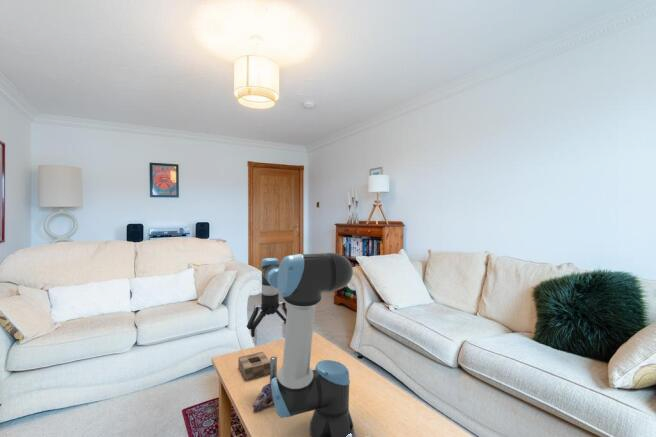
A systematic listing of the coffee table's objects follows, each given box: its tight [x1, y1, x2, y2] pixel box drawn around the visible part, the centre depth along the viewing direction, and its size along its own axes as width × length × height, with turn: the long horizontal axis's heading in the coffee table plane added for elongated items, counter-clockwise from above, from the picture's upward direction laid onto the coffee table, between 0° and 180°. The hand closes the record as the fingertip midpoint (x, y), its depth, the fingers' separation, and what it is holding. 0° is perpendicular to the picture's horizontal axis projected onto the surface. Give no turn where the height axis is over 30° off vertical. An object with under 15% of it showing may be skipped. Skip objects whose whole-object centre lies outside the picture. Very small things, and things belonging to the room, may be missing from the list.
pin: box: [269, 356, 278, 382], centre depth 136 cm, size 3×3×10 cm
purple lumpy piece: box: [252, 382, 274, 412], centre depth 120 cm, size 12×8×6 cm, turn 141°
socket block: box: [237, 351, 270, 381], centre depth 144 cm, size 12×12×5 cm
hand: (269, 340), depth 136 cm, fingers open, 13 cm apart
